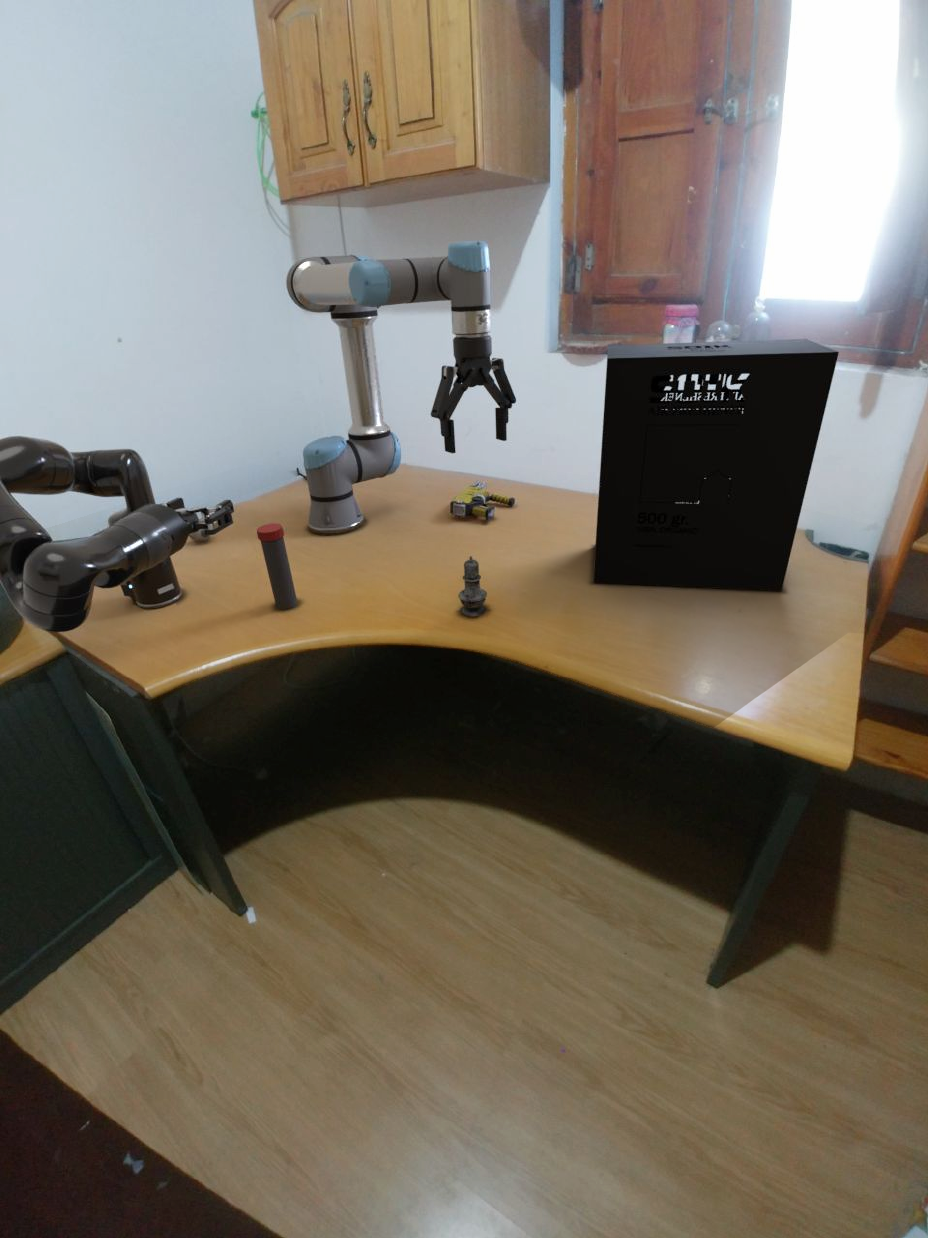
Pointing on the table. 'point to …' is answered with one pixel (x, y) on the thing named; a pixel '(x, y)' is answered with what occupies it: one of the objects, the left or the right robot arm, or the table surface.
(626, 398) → the cardboard box
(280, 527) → the lid
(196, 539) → the eyeball
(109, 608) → the table surface
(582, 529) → the table surface
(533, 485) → the table surface
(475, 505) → the toy gun
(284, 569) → the bottle
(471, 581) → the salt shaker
